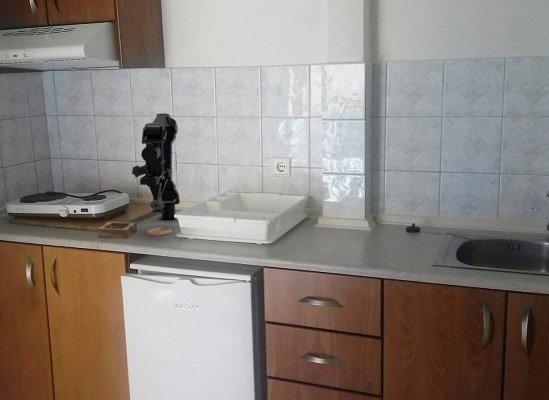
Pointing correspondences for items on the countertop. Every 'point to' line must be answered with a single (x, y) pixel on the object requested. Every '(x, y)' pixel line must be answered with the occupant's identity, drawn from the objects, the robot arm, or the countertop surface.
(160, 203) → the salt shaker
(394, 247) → the countertop surface
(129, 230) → the walnut holder
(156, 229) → the coaster
